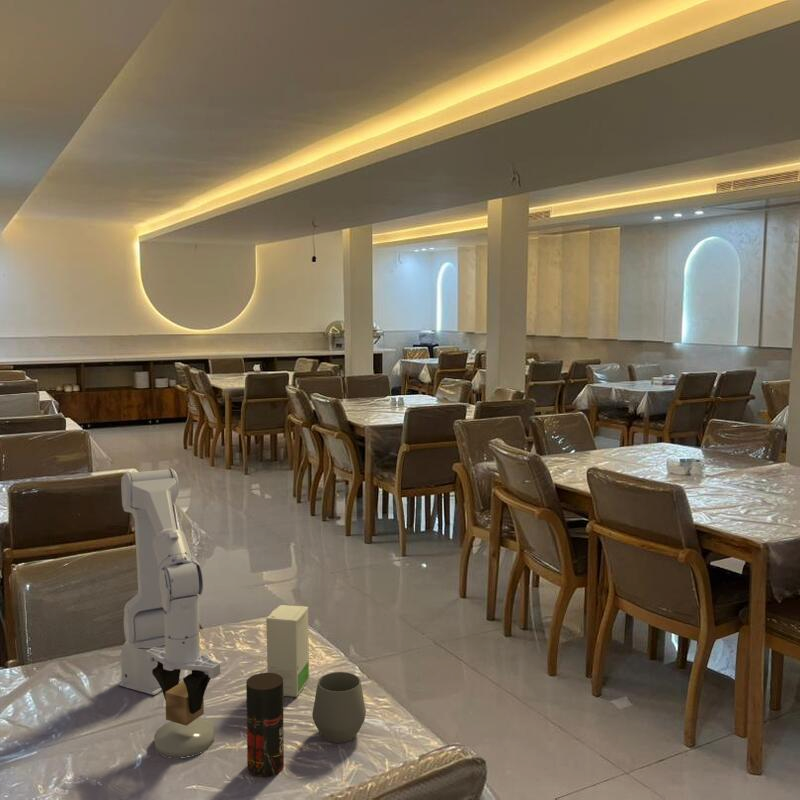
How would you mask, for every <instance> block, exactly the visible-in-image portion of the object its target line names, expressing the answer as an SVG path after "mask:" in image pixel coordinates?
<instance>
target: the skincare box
mask: <svg viewBox="0 0 800 800" xmlns="http://www.w3.org/2000/svg"><path fill="white" fill-rule="evenodd" d="M265 620H266V621H265V623H266V663H267V664H266V665H267V667H266V669H267V671H266V673H275V674H278V675H280V676H281V677H282V678H283V697H291V698H292V697H293V698H294V697H295V698H298V696H299V694H300V693H301V692H302V690H303V689H304V688H305V686H306V684H307V683H308V682H309V680H310V650H309V649H310V647H309V645H310V644H309V606H304V605H285V604H280V605H278V607H276V608H275V609H274V610H272V611H271V613H270V614H269V615H268V616H267V617H266V619H265Z"/></svg>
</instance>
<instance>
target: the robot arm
mask: <svg viewBox="0 0 800 800" xmlns="http://www.w3.org/2000/svg"><path fill="white" fill-rule="evenodd" d="M179 484H180V483H179V477H178V474H177V472H176V470H175V469H174V468H172V467H171V468H168V469H158V470H146V471H145V470H144V471H136V472H135V471H134V472H128V471H126V472H124V473H123V475H122V476H121V483H120V488H121V504H122V505H121V506H122V509H123V511H124V512H126V513H130V514H132V517H133V521H134V532H135V534H134V535H135V551H136V552H135V554H136V555H135V556H136V557H135V558H136V571H137V573H136V574H137V593H136V594H135V595H134V596H133V597H132V598H131V599H130V600H128V601H127V603H125V606H124V607H123V608H124V616H123V632H124V639H125V642H124V644H123V645H122V648H121V651H120V670H121V671H120V672H121V673H120V674H121V681H119V682H118V686H121V687H124V688H127V689H131V690H134V691H138V692H141V693H145V694H148V695H152V696H155V695H157V694H159V693H161V692H162V693H163V697H164V700H165V702H166V699H165V692H166V691H168V690H170V689H171V688H173V687H174V686H176V685H178V684H179V683H180V680H181V679H182V680H183V681H184V683H185V685H186V688H187V692H188V700H189V710H190V713H192V714H194V713H196V712H197V711H198V710H200V709H201V705H202V700H203V701H204V696H205V692H206V690H207V687H208V685H209V683H210V682H211V681H210V680H211V679H215V678H216V677H218V676H219V675H221V663H220V662H216V661H215V660H212V659H211V658H209V657H208V656H206V655H205V654H203V653H201V649H200V647H201V646H200V609H199V608H200V604H199V603H200V602H199V595H201V596H202V594H203V590H204V576H203V571H202V567H201V564H200V562H199V561H198V560H196V559H197V558H196V557H195V556H192V553H191V551H190V550H191V549H190V546H189V543H188V541H187V538H186V534H185V532H183V531H182V530H180V529H177V526H176V525H177V524H176V519H175V514H174V508H173V504H175V503H176V502H177V498H178V496H179V492H180V491H179V490H180V489H179V488H180V485H179ZM182 670H185V671H191V673H189V674H187V675H186V676H185V677H183V678H182V676H181V672H182Z"/></svg>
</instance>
